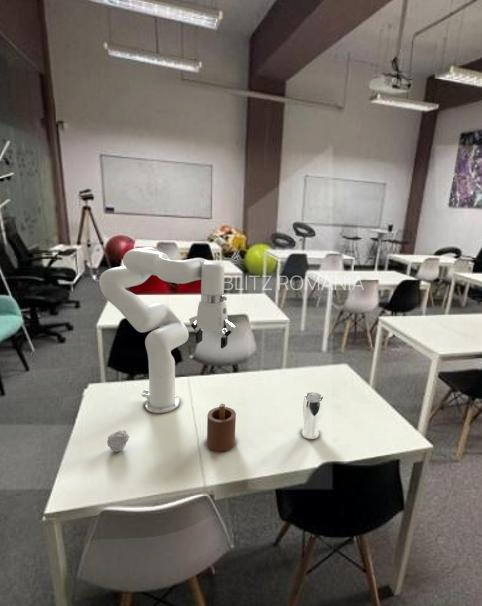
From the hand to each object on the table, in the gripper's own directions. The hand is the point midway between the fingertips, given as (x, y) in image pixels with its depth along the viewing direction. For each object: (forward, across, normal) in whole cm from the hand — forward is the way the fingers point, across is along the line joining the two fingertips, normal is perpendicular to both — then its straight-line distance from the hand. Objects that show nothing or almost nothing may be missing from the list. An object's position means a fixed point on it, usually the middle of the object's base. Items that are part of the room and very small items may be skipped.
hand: (211, 344), depth 133 cm
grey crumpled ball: (+31, +18, +26) cm, 44 cm away
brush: (+30, -10, +10) cm, 33 cm away
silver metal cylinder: (+31, -37, -7) cm, 48 cm away
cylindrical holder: (+30, -10, +10) cm, 33 cm away
